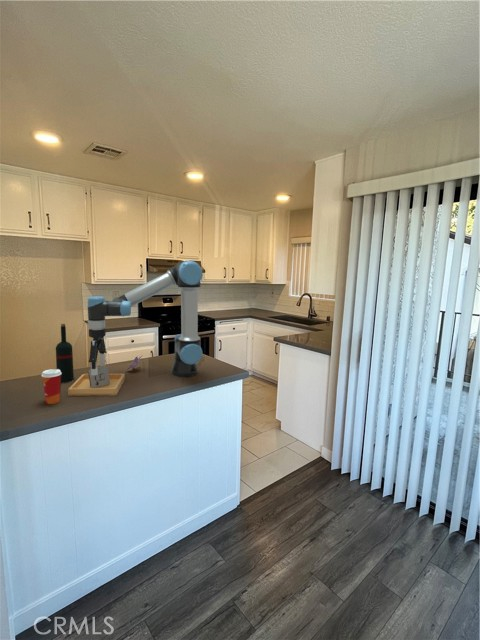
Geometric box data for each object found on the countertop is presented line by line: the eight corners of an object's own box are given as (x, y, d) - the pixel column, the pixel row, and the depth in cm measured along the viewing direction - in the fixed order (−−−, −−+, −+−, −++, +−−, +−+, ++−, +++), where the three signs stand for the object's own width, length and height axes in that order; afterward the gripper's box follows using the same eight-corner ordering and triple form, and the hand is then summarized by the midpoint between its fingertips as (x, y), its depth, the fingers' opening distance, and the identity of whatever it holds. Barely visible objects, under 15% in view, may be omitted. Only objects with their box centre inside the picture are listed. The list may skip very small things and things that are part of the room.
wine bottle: (70, 375, 174) (68, 321, 169) (75, 380, 167) (73, 324, 162) (54, 377, 169) (51, 322, 164) (58, 383, 162) (55, 325, 157)
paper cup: (48, 397, 145) (46, 368, 143) (66, 398, 146) (64, 368, 144) (39, 405, 138) (37, 374, 135) (57, 405, 138) (56, 374, 136)
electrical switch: (92, 389, 154) (90, 370, 153) (87, 387, 158) (86, 369, 157) (110, 384, 161) (109, 366, 160) (105, 383, 165) (104, 365, 164)
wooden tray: (124, 379, 172) (124, 373, 171) (115, 395, 151) (115, 388, 150) (83, 380, 168) (83, 373, 168) (68, 396, 148) (68, 389, 147)
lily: (143, 368, 195) (136, 354, 194) (153, 365, 187) (145, 351, 185) (127, 378, 186) (119, 364, 185) (136, 376, 178) (127, 361, 177)
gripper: (96, 323, 166) (97, 362, 170) (80, 333, 142) (82, 379, 145) (111, 323, 167) (112, 362, 171) (98, 334, 143) (99, 379, 147)
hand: (98, 370), depth 158 cm, fingers open, 13 cm apart
